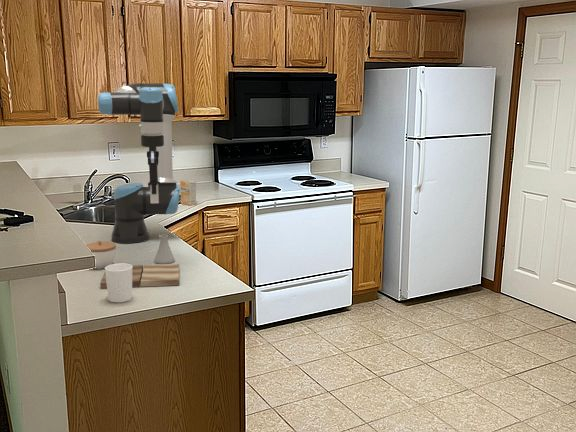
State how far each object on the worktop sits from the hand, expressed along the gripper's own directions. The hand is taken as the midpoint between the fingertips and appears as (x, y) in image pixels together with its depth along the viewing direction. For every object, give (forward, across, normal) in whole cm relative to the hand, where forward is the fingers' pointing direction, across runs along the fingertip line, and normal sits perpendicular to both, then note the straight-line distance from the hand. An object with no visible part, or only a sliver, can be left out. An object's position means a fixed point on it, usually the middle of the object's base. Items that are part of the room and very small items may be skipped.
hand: (154, 202), depth 202 cm
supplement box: (+26, -117, +14) cm, 120 cm away
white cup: (+23, +31, -10) cm, 40 cm away
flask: (+24, -7, +2) cm, 25 cm away
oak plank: (+23, +12, +2) cm, 26 cm away
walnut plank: (+23, +12, -11) cm, 28 cm away
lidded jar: (+24, -4, -20) cm, 31 cm away
